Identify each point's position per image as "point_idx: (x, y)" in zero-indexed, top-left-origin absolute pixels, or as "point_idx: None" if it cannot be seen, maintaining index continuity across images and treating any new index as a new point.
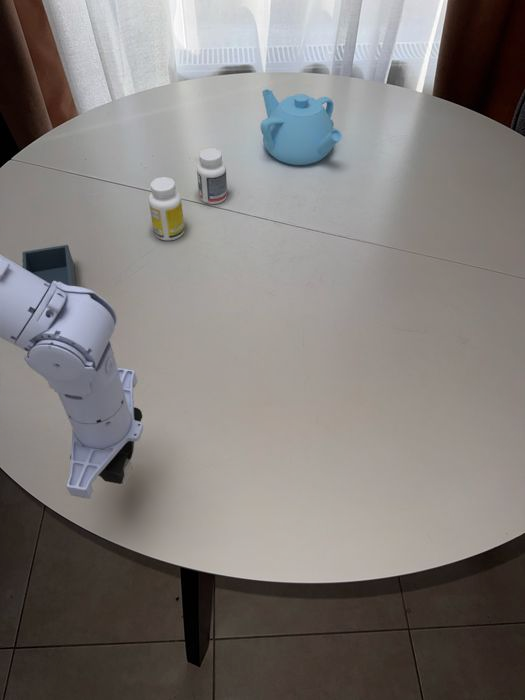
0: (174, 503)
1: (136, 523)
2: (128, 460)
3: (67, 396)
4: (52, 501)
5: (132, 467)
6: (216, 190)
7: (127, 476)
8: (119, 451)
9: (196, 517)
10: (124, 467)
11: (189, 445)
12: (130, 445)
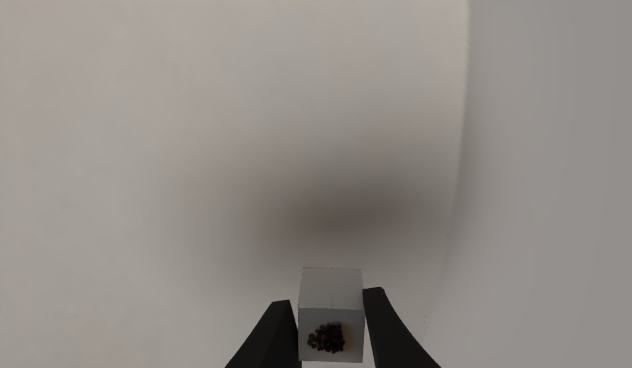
0: (316, 109)
1: (402, 175)
2: (302, 310)
3: None
4: None
5: (303, 275)
6: None
7: (336, 273)
8: (290, 358)
9: (331, 28)
10: (332, 311)
11: (145, 150)
12: (265, 361)
